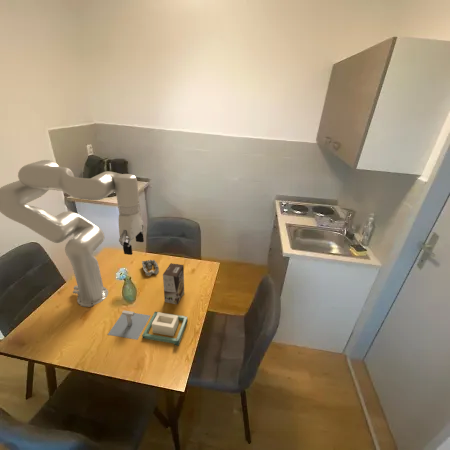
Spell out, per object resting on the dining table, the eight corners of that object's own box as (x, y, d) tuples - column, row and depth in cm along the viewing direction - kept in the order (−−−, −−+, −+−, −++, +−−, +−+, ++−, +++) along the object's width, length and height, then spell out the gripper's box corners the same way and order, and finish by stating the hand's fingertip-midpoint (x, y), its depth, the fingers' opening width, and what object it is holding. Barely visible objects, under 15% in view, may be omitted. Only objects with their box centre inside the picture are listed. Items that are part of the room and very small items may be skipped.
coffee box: (177, 306, 111) (176, 277, 104) (164, 303, 112) (162, 274, 105) (184, 292, 119) (184, 264, 112) (172, 290, 120) (170, 262, 113)
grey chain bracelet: (159, 274, 131) (159, 268, 129) (145, 277, 128) (144, 271, 126) (156, 263, 140) (155, 257, 138) (142, 266, 137) (141, 259, 135)
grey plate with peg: (108, 336, 95) (104, 321, 92) (124, 313, 106) (121, 299, 103) (137, 341, 94) (135, 327, 91) (150, 317, 105) (149, 303, 101)
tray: (142, 339, 95) (142, 335, 94) (155, 316, 105) (154, 311, 104) (178, 345, 93) (178, 341, 92) (187, 321, 104) (187, 316, 103)
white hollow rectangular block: (152, 333, 97) (151, 323, 95) (158, 321, 102) (158, 312, 100) (173, 337, 96) (172, 327, 94) (178, 324, 101) (178, 315, 99)
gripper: (131, 199, 101) (135, 236, 108) (106, 216, 85) (113, 258, 93) (148, 201, 100) (152, 238, 107) (127, 218, 84) (132, 260, 92)
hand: (134, 247), depth 100 cm, fingers open, 9 cm apart
